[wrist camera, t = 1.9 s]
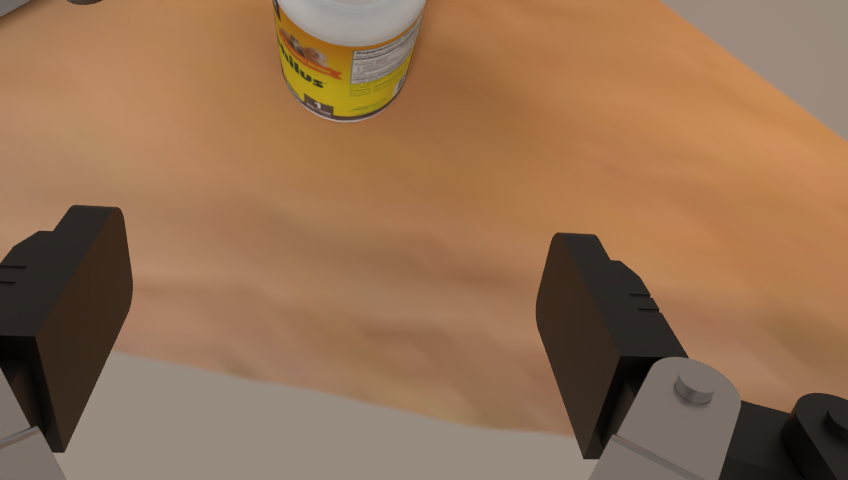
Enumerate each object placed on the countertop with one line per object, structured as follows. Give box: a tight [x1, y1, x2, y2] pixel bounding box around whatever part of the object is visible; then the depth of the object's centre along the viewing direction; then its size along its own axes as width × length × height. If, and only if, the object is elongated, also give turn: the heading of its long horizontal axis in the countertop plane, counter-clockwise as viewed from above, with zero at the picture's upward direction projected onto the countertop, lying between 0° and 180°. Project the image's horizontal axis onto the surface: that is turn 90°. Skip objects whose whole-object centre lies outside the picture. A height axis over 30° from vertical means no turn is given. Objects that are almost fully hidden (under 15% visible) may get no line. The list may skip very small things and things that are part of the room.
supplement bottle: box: [273, 0, 427, 122], centre depth 25 cm, size 6×6×10 cm
